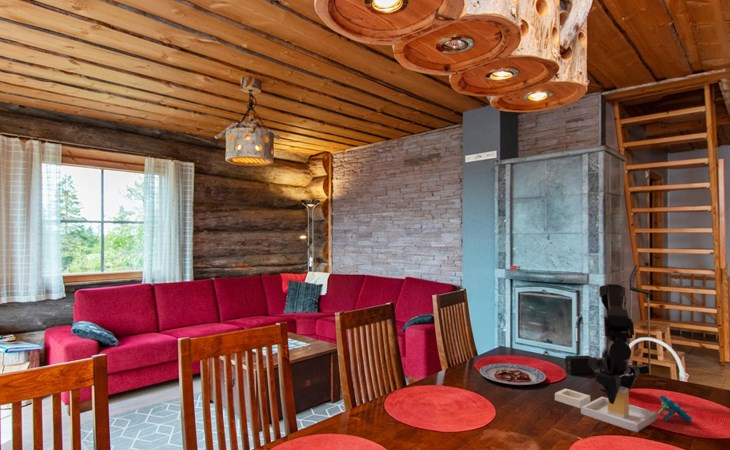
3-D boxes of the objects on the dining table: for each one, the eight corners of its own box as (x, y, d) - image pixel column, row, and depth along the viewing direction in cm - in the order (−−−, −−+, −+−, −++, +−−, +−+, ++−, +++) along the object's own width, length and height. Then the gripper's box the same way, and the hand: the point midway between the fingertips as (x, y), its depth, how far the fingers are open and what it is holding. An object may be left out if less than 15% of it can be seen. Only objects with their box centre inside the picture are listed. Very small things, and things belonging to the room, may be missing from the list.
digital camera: (586, 370, 191) (586, 354, 191) (594, 374, 185) (594, 358, 186) (564, 371, 190) (563, 355, 190) (571, 375, 185) (571, 358, 185)
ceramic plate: (556, 389, 169) (556, 381, 169) (489, 389, 169) (489, 381, 169) (532, 368, 195) (531, 361, 195) (473, 368, 195) (473, 361, 195)
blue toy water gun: (700, 422, 136) (673, 397, 137) (687, 436, 135) (660, 411, 137) (679, 412, 146) (654, 389, 148) (667, 425, 146) (642, 402, 148)
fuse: (612, 411, 147) (612, 383, 147) (628, 416, 143) (628, 388, 143) (607, 413, 145) (607, 386, 145) (624, 418, 141) (623, 390, 141)
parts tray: (602, 402, 155) (602, 396, 155) (656, 419, 142) (656, 412, 142) (580, 413, 146) (580, 407, 146) (637, 432, 133) (637, 425, 133)
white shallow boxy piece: (565, 395, 162) (565, 388, 163) (590, 402, 155) (590, 395, 155) (554, 400, 158) (554, 393, 158) (579, 408, 151) (579, 400, 151)
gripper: (605, 342, 156) (605, 386, 156) (578, 351, 145) (579, 399, 145) (639, 349, 147) (640, 396, 147) (614, 359, 136) (615, 410, 136)
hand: (618, 400), depth 144 cm, fingers open, 9 cm apart
